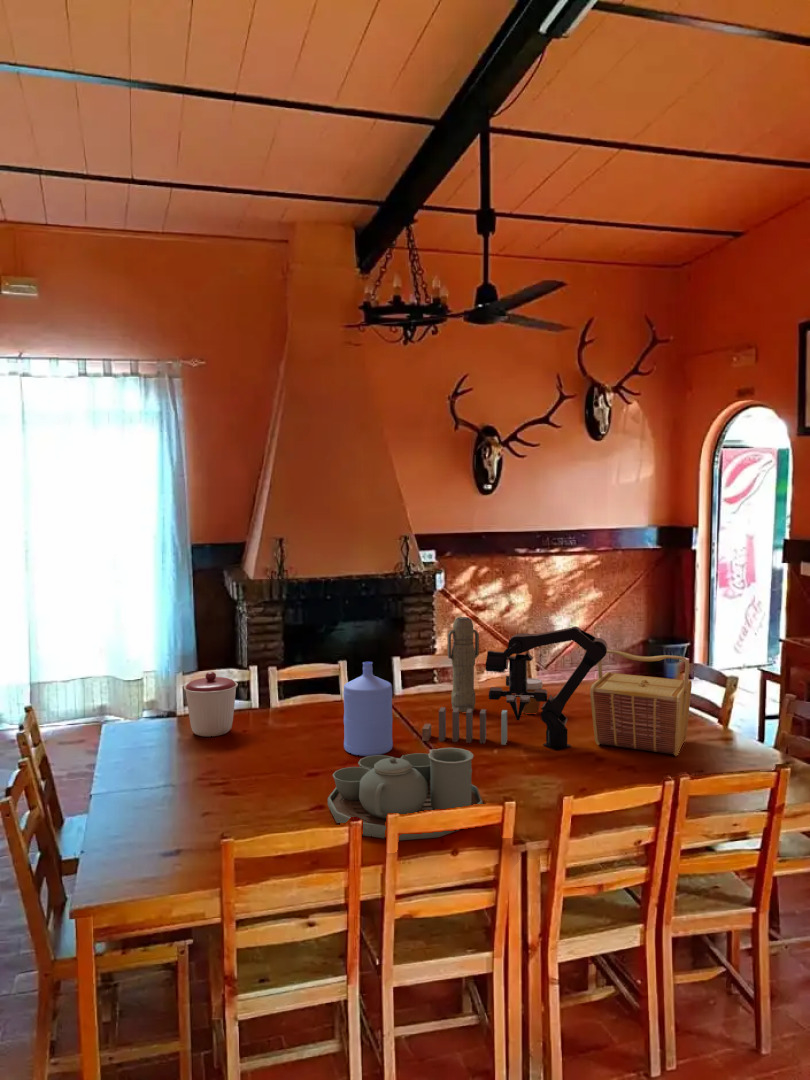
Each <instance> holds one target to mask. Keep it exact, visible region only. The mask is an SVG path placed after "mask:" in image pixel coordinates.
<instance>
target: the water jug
mask: <svg viewBox="0 0 810 1080" xmlns="http://www.w3.org/2000/svg"><path fill="white" fill-rule="evenodd" d="M373 664H374V663H373V661H363V662H362V674H361V675H360V676H357V677H356V678H354V679H352V680H350V681H348V682H346V683H344V685H343V694H342V695H343V696H342V697H343V710H344V711H343V712H344V713H343V725H344V727H343V728H344V730H343V733H344V736H343V737H344V739H343V749H344V750H345V751H346V752H347V753H349V754H350V753H351V755H355V756H358V755H359V756H360V757H368V756H374V755H384V754H386V753H389V752H390V751H391V750H392V749H393V746H394V742H393V740H394V739H393V718H394V717H393V685H392V683H391V682H389V681H388V680H385V679H383V678H380V677H379V676H375V674H374V673H373V668H374V667H373ZM359 756H358V757H359Z"/></svg>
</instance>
